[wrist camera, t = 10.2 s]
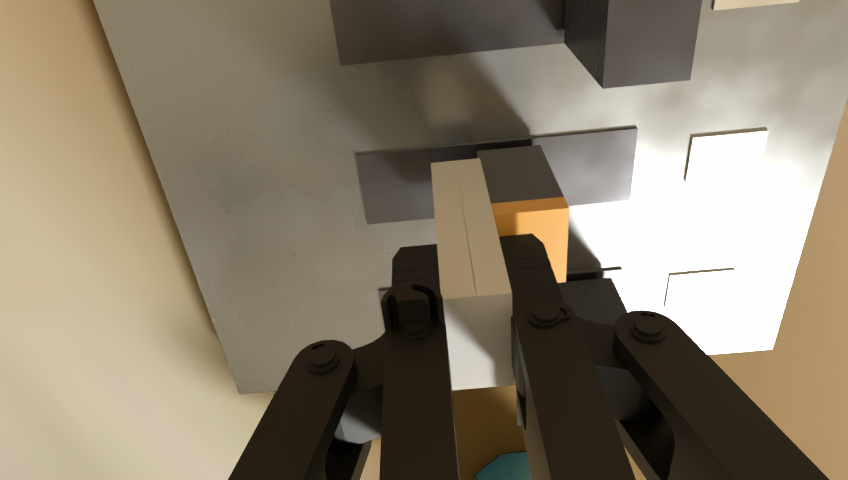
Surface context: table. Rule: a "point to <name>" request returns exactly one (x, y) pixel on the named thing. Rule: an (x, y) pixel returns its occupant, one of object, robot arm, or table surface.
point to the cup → (507, 468)
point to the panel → (483, 130)
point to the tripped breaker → (528, 199)
